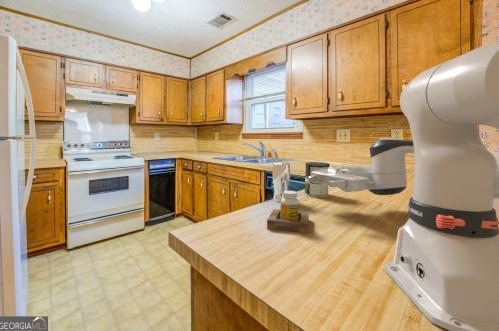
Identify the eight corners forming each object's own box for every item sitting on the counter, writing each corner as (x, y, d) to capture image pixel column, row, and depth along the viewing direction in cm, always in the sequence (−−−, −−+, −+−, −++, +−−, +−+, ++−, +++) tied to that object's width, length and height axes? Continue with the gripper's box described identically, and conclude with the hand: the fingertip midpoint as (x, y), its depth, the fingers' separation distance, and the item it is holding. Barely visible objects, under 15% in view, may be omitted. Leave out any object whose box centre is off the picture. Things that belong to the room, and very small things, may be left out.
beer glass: (268, 199, 102) (269, 162, 101) (282, 197, 105) (283, 162, 104) (278, 203, 96) (279, 164, 94) (292, 201, 99) (293, 163, 98)
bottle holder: (307, 232, 67) (307, 223, 66) (266, 228, 69) (267, 220, 69) (308, 219, 77) (308, 211, 77) (273, 216, 80) (273, 209, 80)
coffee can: (299, 194, 111) (300, 163, 110) (313, 191, 118) (314, 161, 116) (319, 198, 103) (320, 165, 102) (333, 195, 110) (334, 163, 108)
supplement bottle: (289, 219, 77) (290, 189, 76) (302, 224, 73) (303, 192, 72) (276, 222, 74) (277, 191, 73) (288, 228, 70) (289, 195, 69)
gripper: (377, 194, 76) (345, 198, 70) (327, 182, 94) (298, 185, 88) (378, 173, 75) (346, 176, 69) (328, 166, 93) (299, 168, 87)
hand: (319, 181), depth 78 cm, fingers open, 8 cm apart
